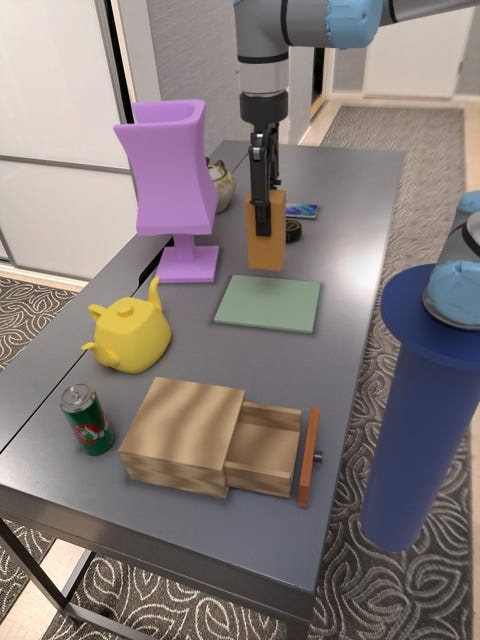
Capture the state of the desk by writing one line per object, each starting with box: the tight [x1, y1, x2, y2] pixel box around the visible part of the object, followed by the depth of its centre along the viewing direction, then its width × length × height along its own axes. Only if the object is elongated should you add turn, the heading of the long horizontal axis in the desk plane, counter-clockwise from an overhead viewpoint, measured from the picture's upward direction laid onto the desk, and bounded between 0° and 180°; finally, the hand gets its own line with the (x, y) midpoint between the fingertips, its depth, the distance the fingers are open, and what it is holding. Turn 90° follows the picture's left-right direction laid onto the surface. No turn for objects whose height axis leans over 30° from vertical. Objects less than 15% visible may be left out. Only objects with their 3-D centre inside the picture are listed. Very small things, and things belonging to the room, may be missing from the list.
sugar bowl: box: [205, 156, 237, 214], centre depth 124 cm, size 20×15×15 cm
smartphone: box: [286, 202, 319, 219], centre depth 124 cm, size 7×1×15 cm
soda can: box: [59, 382, 115, 456], centre depth 66 cm, size 5×5×12 cm
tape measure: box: [286, 219, 303, 243], centre depth 112 cm, size 7×7×4 cm
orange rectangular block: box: [244, 189, 287, 272], centre depth 83 cm, size 6×5×14 cm
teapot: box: [80, 276, 172, 375], centre depth 83 cm, size 22×16×11 cm
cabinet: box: [117, 376, 247, 500], centre depth 66 cm, size 15×14×8 cm
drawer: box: [223, 401, 324, 509], centre depth 63 cm, size 15×12×6 cm
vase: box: [112, 98, 220, 284], centre depth 95 cm, size 16×16×35 cm
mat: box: [213, 274, 322, 334], centre depth 94 cm, size 20×16×1 cm
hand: (266, 227), depth 82 cm, fingers closed on orange rectangular block, 5 cm apart
